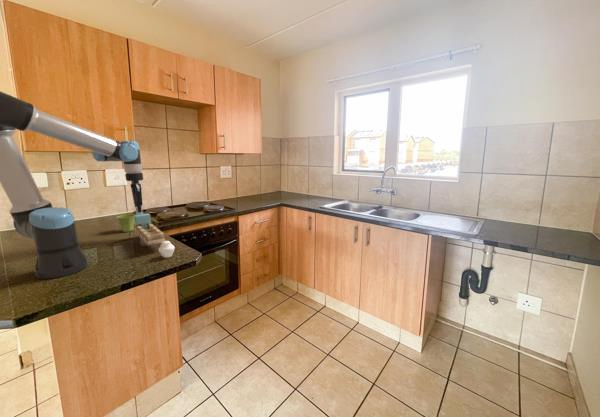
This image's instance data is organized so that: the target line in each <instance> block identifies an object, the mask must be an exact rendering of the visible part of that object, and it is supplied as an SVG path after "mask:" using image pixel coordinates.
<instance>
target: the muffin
mask: <svg viewBox="0 0 600 417" xmlns="http://www.w3.org/2000/svg"><path fill="white" fill-rule="evenodd" d="M160 244H161V245H160V246H159V248H158V252H159V254H161V256H162V257H163V258H165V259H167V258H170V257H172V256H173V253H174V252H175V246H174V244H172V243H171V241H169V240H165V241H164V242H162V243H160Z"/></svg>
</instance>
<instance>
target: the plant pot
mask: <svg viewBox="0 0 600 417" xmlns="http://www.w3.org/2000/svg"><path fill="white" fill-rule="evenodd" d="M134 215H136V213H135V214H132V213H131V214H128V213H127V214H123V215H118V216H116V219H117V221H118V224H119V226H120V229H121V231H122V233H128V232H132V231H134V224H133V223H135V220H134Z"/></svg>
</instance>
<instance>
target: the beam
mask: <svg viewBox="0 0 600 417" xmlns="http://www.w3.org/2000/svg"><path fill="white" fill-rule="evenodd" d="M133 224H134V230H133V231H134V232H135V233H136V234H137V235H138V238H139V245H141V247H142V248H143V247H147V246H148V247H149V246H152V245H156V244H157V245H158V244H162V242H164V241H166V238H165V233H164V232H163V231H161V230H160V229H159V228H158V227H156V226H155V225H154V224H152V222H151V223H147V224H148V228H146V229H143V228H142V227H141V226H140V225H137V224H136V223H133Z"/></svg>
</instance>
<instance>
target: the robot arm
mask: <svg viewBox="0 0 600 417" xmlns="http://www.w3.org/2000/svg"><path fill="white" fill-rule="evenodd" d="M17 131H20V132H27V131H30V132H34V133H36V134H39V135H42V136H46V137H49V138H52V139H54V140H57V141H60V142H61V141H62V142H64V143H67V144H70V145H73V146H76V147H80V148H81V149H84V150H87V151H91V154H92V157H93V159H94V160H95V161H96V162H102V163H103V162H104V163H105V162H123V169H124V170H123V171H124V176H125V180H126V181H127V182H131V183H130V190H131V194H132V199H133V204H134V205H133V206H134V207H135V208H134V209H135V215H139V214H144V212H143V206H144V205H143V196H142V195H143V194H142V193H143V192H142V184H140V181H144V175H143V169H142V168H143V167H144V166H143V165H142V161H141V150H140V145H139V142H137V141H136V140H135V141H134V140H123V141H122V140H120V141H118V140H115V139H113V138H111V137H107V136H105V135H103V134H100V133H98V132H95V131H93V130H90V129H88V128H85V127H83V126H79V125H78V124H75V123H72V122H70V121H67V120H65V119H62V118H59V117H57V116H54V115H52V114H49V113H47V112H44V111H41V110H39V109H37V108H36V107H35V105H34V104H32V103H29V102H28V101H25V100H22V99H20V98H18V97H15V96H13V95H10V94H8V93H6V92H3V91H1V90H0V186H1V187H2V188H3V190H4V192H5V194H6V196H7V199H8V200H9V202H10V204H11V208H10V209H9V210H8V211H9V213H10V215H11V217H12V219H13V228H14V229H15V230H16V232H17V233H18V234H19V235H21V236H23V237H25V238H27V239H31V240H33V241H34V245H35V247H36V248H35V249H36V252H37V257H36V262H35V268H34V274H35V275H34V276H35V278H37V279H40V280H41V279H42V280H45V279H47V280H48V279H55V278H61V277H66V276H69V275H73V274H75V273H78V272H80V271H82V270H84V269H86V268H87V267H88V266H89V259H88V257H86V255H85V253H84V252H83V250H82V249H81V247H80V243H79V239H78V233H77V229H76V223H75V217H74V215H73V212H72V210H71V209H69V208H65V207H57V206H56V207H55V206H53V205H52V202H51V201H50V200H48V199H46V198H43V196H42V194H41V192H40V189H39V188H38V186H37V184H36V181H35V179H34V177H33V175H32V173H31V170H30V169H29V167H28V164H27V162H26V161H25V158H24V157H23V154H22V152H21V151H20V149H19V146H18V144H17V142H16V140H15V138H14V134H15V133H16V132H17Z"/></svg>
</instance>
